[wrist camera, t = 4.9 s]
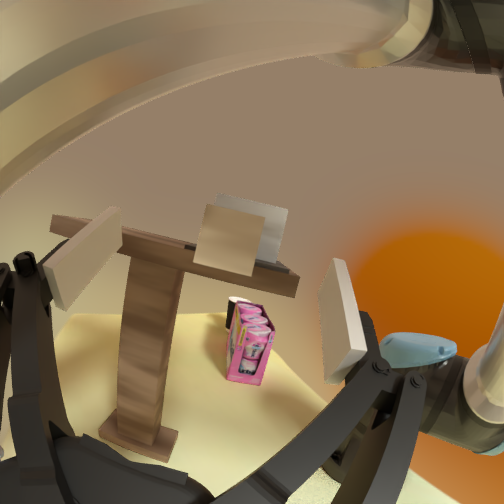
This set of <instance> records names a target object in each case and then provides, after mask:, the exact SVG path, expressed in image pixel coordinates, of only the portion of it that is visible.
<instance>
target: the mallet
mask: <svg viewBox="0 0 504 504" xmlns="http://www.w3.org/2000/svg"><path fill="white" fill-rule="evenodd" d="M287 214H288V209H284V208H280V207H276V206H271V205H268V204H264V203H259V202H255V201H251V200H247V199H242V198H238V197H233V196H229V195H224V194H220V193H217V195H216V199H215V203H214V205H210V204H207V205H206V209H205V213H204V218H203V221H202V225H201V230H200V234H199V238H198V243H197V247H196V251H195V255H194V260H193V262H194V263H198V264H202V265H206V266H210V267H214V268H218V269H222V270H226V271H230V272H234V273H238V274H242V275H246V276H251V275H252V271H253V267H254V263H255V259H259V260H263V261H267V262H272V263H276V260H277V255H278V251H279V247H280V243H281V239H282V235H283V231H284V226H285V222H286V218H287Z"/></svg>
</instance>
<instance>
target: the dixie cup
mask: <svg viewBox="0 0 504 504" xmlns="http://www.w3.org/2000/svg"><path fill="white" fill-rule="evenodd" d="M228 299H229V302H228V311H227V319H226V331H227V332H229V331H230V327H231V322H232V318H233V314H234V309H235V305H236V302H237V300H240V301H245V302H249V303H252V302H251V301H249V300H246V299H244V298H240V297H229V298H228Z"/></svg>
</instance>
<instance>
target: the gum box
mask: <svg viewBox="0 0 504 504" xmlns="http://www.w3.org/2000/svg"><path fill="white" fill-rule="evenodd" d="M274 335H275V328H274V325H273V324H272V322H271V321H270V319H269V317H268V316H267V313H266V311H265V309H264V307H263V305H258V304H254V303H249V302H245V301H240V300H237V302H236V305H235V309H234V314H233V318H232V322H231V327H230V331H229V335H228V340H227V361H226V364H227V368H226V372H227V380H231V381H236V382H241V383H247V384H253V385H260V384H261V381H262V378H263V375H264V371H265V368H266V364H267V361H268V357H269V354H270V350H271V346H272V343H273V339H274Z"/></svg>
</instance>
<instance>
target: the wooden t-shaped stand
mask: <svg viewBox="0 0 504 504" xmlns="http://www.w3.org/2000/svg"><path fill="white" fill-rule="evenodd" d="M91 221H92V220H90V219H84V218H76V217H68V216H60V215H52V220H51V226H50V232H53V233H55V234H58V235H62V236H65V237H68V238H72V237H73V236H74V235H75V234H77V233H78V232H79V231H80V230H81V229H83V228H84V227H85V226H86V225H87V224H89V223H90V222H91ZM121 228H122V246H121V247H120V248H119V250H118V251H117V253H120V254H124V255H127V256H131V261H130V267H129V272H128V279H127V285H126V291H125V299H124V306H123V314H122V323H121V333H120V345H119V359H118V381H117V409H115V410H114V412H113V413H112V414H111V415H110V417H109V418H108V419H107V420H106V421H105V423H104V424H103V425H102V426H101V427H100V429H99V436H100V437H102V438H104V439H106V440H108V441H110V442H113V443H115V444H117V445H119V446H122V447H124V448H127V449H129V450H131V451H134V452H137V453H139V454H142V455H145V456H147V457H150V458H153V459H156V460H159V461H162V462H165V463H168V460H169V458H170V455H171V453H172V450H173V448H174V445H175V443H176V440H177V437H178V431H176V430H173V429H170V428H166V427H163V426H161V416H162V407H163V399H164V391H165V383H166V376H167V369H168V362H169V355H170V349H171V343H172V337H173V331H174V325H175V319H176V314H177V308H178V303H179V298H180V292H181V288H182V282H183V278H184V273H185V272H189V273H193V274H197V275H201V276H205V277H208V278H212V279H216V280H221V281H224V282H228V283H232V284H237V285H241V286H244V287H249V288H253V289H257V290H261V291H266V292H270V293H274V294H279V295H283V296H287V297H292V298H295V294H296V290H297V286H298V283H299V279H300V277H299V276H298V275H297V274H295V273H294V272H293V271H291V270H290V269H289V268H287V267H286V266H284V265H283V264H282V263H281V262H279V261H276V263H272V262H267V261H263V260H259V259H255V263H254V267H253V271H252V275H251V276H246V275H242V274H238V273H234V272H230V271H226V270H222V269H218V268H214V267H210V266H206V265H202V264H198V263H194V262H193V260H194V255H195V251H196V247H197V244H193V243H189V242H185V241H181V240H177V239H173V238H169V237H165V236H161V235H157V234H152V233H148V232H144V231H140V230H137V229H133V228H128V227H124V226H121Z"/></svg>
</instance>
